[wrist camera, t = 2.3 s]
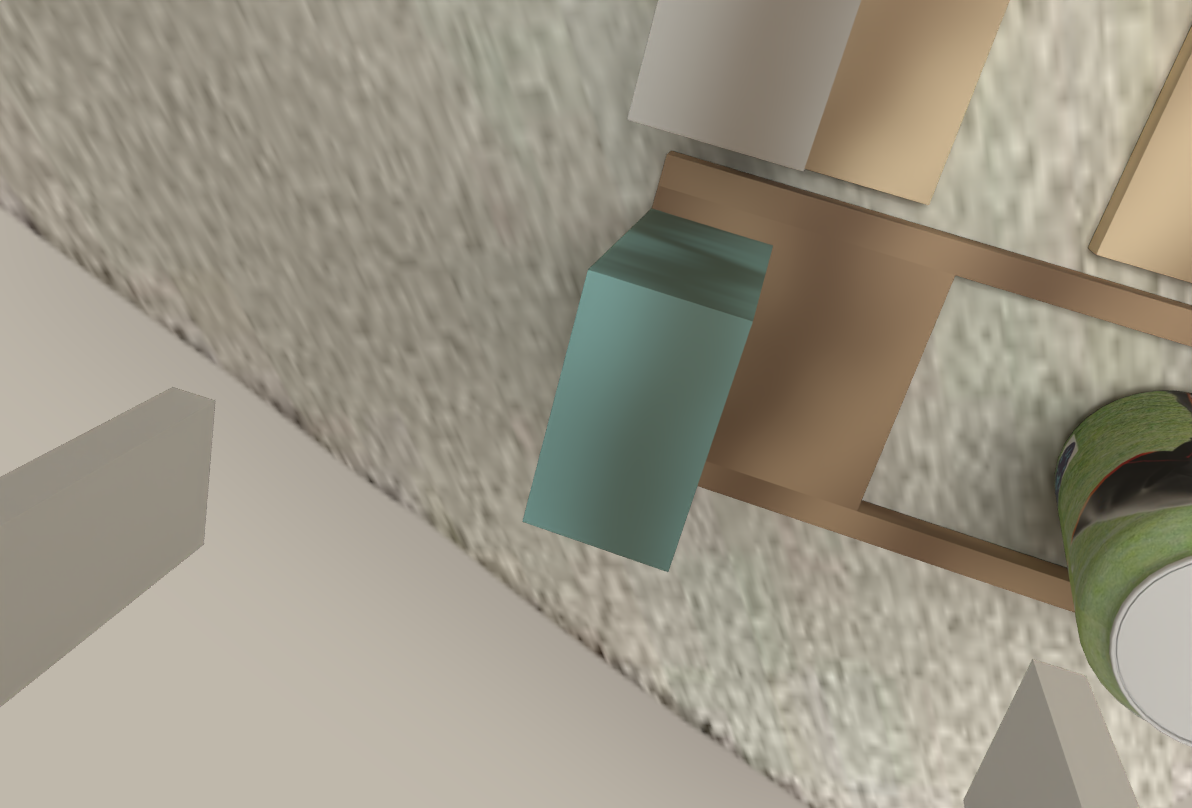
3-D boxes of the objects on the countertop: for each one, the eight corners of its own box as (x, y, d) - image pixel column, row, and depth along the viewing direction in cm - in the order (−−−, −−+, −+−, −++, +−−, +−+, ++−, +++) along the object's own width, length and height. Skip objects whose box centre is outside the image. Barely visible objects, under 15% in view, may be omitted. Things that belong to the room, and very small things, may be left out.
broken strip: (678, 127, 31) (615, 164, 22) (757, -153, 28) (722, -246, 19) (1360, 328, 29) (1607, 463, 20) (1528, 48, 26) (1917, 53, 16)
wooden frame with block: (590, 437, 35) (507, 576, 26) (671, 150, 31) (607, 197, 22) (1221, 647, 33) (1371, 881, 24) (1398, 366, 29) (1662, 519, 20)
